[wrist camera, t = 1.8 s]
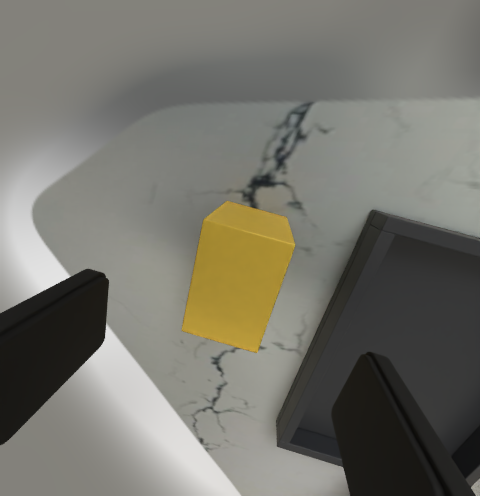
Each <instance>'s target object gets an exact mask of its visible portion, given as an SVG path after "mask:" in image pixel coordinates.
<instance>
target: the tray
mask: <svg viewBox="0 0 480 496" xmlns="http://www.w3.org/2000/svg"><path fill="white" fill-rule="evenodd" d="M367 352H373V353H376V354H380V355H383V356H386V357H388V358H389V360H390V361H391V363H392V364H393V366H394V367H395V369H396V371H397V372H398V374H399V375H400V377H401V378H402V380H403V382H404V383H405V385H406V386H407V388H408V389H409V391H410V393H411V394H412V396H413V397H414V399H415V401H416V402H417V404H418V405H419V407H420V408H421V410H422V412H423V413H424V415H425V416H426V418H427V419H428V421H429V423H430V424H431V426H432V427H433V429H434V431H435V432H436V434H437V435H438V437H439V438H440V440H441V442H442V443H443V445H444V446H445V448H446V450H447V451H448V453H449V454H450V456H451V457H452V459H453V461H454V462H455V464H456V465H457V467H458V468H459V470H460V472H461V473H462V475H463V476H464V478H465V480H466V481H467V483H468V484H469V486H470V487H471V486H472V485H473V484H474V483H475V482H476V481H477V480H479V479H480V238H477V237H473V236H469V235H466V234H462V233H458V232H454V231H451V230H447V229H443V228H440V227H436V226H432V225H428V224H425V223H421V222H417V221H413V220H410V219H406V218H402V217H399V216H395V215H391V214H387V213H384V212H380V211H376V210H372V211H371V213H370V216H369V218H368V220H367V222H366V224H365V227H364V229H363V231H362V233H361V235H360V238H359V240H358V242H357V244H356V246H355V249H354V251H353V253H352V255H351V257H350V260H349V262H348V264H347V266H346V268H345V271H344V273H343V275H342V277H341V279H340V282H339V284H338V286H337V288H336V290H335V293H334V295H333V297H332V299H331V301H330V304H329V306H328V308H327V310H326V312H325V315H324V317H323V319H322V321H321V324H320V326H319V328H318V330H317V332H316V335H315V337H314V339H313V341H312V343H311V346H310V348H309V350H308V352H307V354H306V357H305V359H304V361H303V363H302V365H301V368H300V370H299V372H298V374H297V376H296V379H295V381H294V383H293V385H292V387H291V390H290V392H289V394H288V396H287V398H286V401H285V403H284V405H283V407H282V409H281V412H280V414H279V416H278V418H277V420H276V427H277V447H280V448H283V449H286V450H289V451H293V452H296V453H299V454H302V455H306V456H309V457H312V458H316V459H319V460H322V461H325V462H329V463H332V464H335V465H338V466H342V467H343V463H342V459H341V455H340V451H339V447H338V443H337V439H336V435H335V430H334V426H333V422H332V418H331V411H332V407H333V405H334V403H335V401H336V399H337V397H338V396H339V394H340V392H341V390H342V388H343V386H344V384H345V383H346V381H347V379H348V377H349V375H350V373H351V371H352V370H353V368H354V366H355V364H356V362H357V360H358V358H359V357H360V355H362V354H366V353H367Z"/></svg>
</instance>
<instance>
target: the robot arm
mask: <svg viewBox="0 0 480 496" xmlns="http://www.w3.org/2000/svg"><path fill="white" fill-rule="evenodd" d="M108 288H109V280H108V279H107V278H106V276H105V274H104V273H102V272H98V271H95V270H91V269H85V270H83V271H81V272H79V273H77V274H75V275H73V276H71V277H70V278H68V279H66V280H64V281H62V282H60V283H58V284H56V285H54V286H52V287H50V288H48V289H46V290H44V291H43V292H41V293H39V294H37V295H35V296H33V297H31V298H30V299H27V300H25V301H23V302H21V303H19V304H18V305H16V306H14V307H12V308H10V309H8V310H6V311H4V312H2V313H0V445H2V444H4V443H5V442H7V441H8V440H9V439H10V438H11V437H12V436H13V435H14V434H15V433H16V432H17V431H18V430H19V429H20V428H21V427H22V426H23V425H24V424H25V423H26V422H27V421H28V419H30V418H31V417H32V416H33V415H34V414H35V413H36V412H37V411H38V410H39V409H40V407H41V406H42V405H43V404H44V403H45V402H46V401H47V400H48V399H49V398H50V397H51V396H52V395H53V394H54V393H55V392H56V391H57V390H58V389H59V388H60V387H61V386H62V385H63V384H64V383H65V382H66V381H67V380H68V379H69V378H70V377H71V376H72V375H73V374H74V373H75V372H76V371H77V370H78V369H79V368H80V367H81V366H82V365H83V364H84V363H85V362H86V361H87V360H88V359H89V358H90V357H91V356H92V355H93V354H94V352H96V350H98V349H99V347H100V346H101V345H102V343H103V341H104V339H105V330H106V316H107V302H108ZM331 418H332V422H333V426H334V430H335V435H336V439H337V443H338V447H339V451H340V455H341V459H342V463H343V467H344V471H345V475H346V479H347V483H348V488H349V492H350V496H476V495H475V494H474V492H473V491H472V489H471V487H470V486H469V484H468V483H467V481H466V480H465V478H464V476H463V475H462V473H461V472H460V470H459V468H458V467H457V465H456V464H455V462H454V461H453V459H452V457H451V456H450V454H449V453H448V451H447V450H446V448H445V446H444V445H443V443H442V442H441V440H440V438H439V437H438V435H437V434H436V432H435V431H434V429H433V427H432V426H431V424H430V423H429V421H428V419H427V418H426V416H425V415H424V413H423V412H422V410H421V408H420V407H419V405H418V404H417V402H416V401H415V399H414V397H413V396H412V394H411V393H410V391H409V389H408V388H407V386H406V385H405V383H404V382H403V380H402V378H401V377H400V375H399V374H398V372H397V371H396V369H395V367H394V366H393V364H392V363H391V361H390V360H389V358H388V357H386V356H383V355H380V354H376V353H373V352H367V353H366V354H362V355H360V357H359V358H358V360H357V362H356V364H355V366H354V368H353V370H352V371H351V373H350V375H349V377H348V379H347V381H346V383H345V384H344V386H343V388H342V390H341V392H340V394H339V396H338V397H337V399H336V401H335V403H334V405H333V407H332V411H331Z"/></svg>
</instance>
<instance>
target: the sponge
mask: <svg viewBox="0 0 480 496" xmlns="http://www.w3.org/2000/svg"><path fill="white" fill-rule="evenodd" d="M294 248H295V242H294V239H293V236H292V232H291V229H290V226H289V223H288V220H287V217H284V216H281V215H277V214H273V213H270V212H266V211H262V210H259V209H255V208H251V207H248V206H244V205H240V204H237V203H233V202H229V201H226V202H225V203H224V204H222V205H221V206H220V207H219V208H217V209H216V210H215V211H213V212H212V213H211V214H210V215H208V216H207V217H206V218H205V219H204V220H203V223H202V228H201V234H200V239H199V244H198V249H197V254H196V259H195V264H194V269H193V274H192V279H191V284H190V289H189V294H188V300H187V305H186V310H185V315H184V320H183V325H182V331H183V332H187V333H190V334H193V335H197V336H200V337H204V338H207V339H210V340H214V341H217V342H221V343H224V344H228V345H231V346H234V347H238V348H241V349H245V350H248V351H251V352H255V353H257V352H258V349H259V346H260V344H261V341H262V338H263V335H264V332H265V330H266V327H267V324H268V321H269V318H270V315H271V313H272V310H273V307H274V304H275V301H276V299H277V296H278V293H279V290H280V287H281V285H282V282H283V279H284V276H285V273H286V270H287V268H288V265H289V262H290V259H291V256H292V254H293V251H294Z"/></svg>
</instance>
